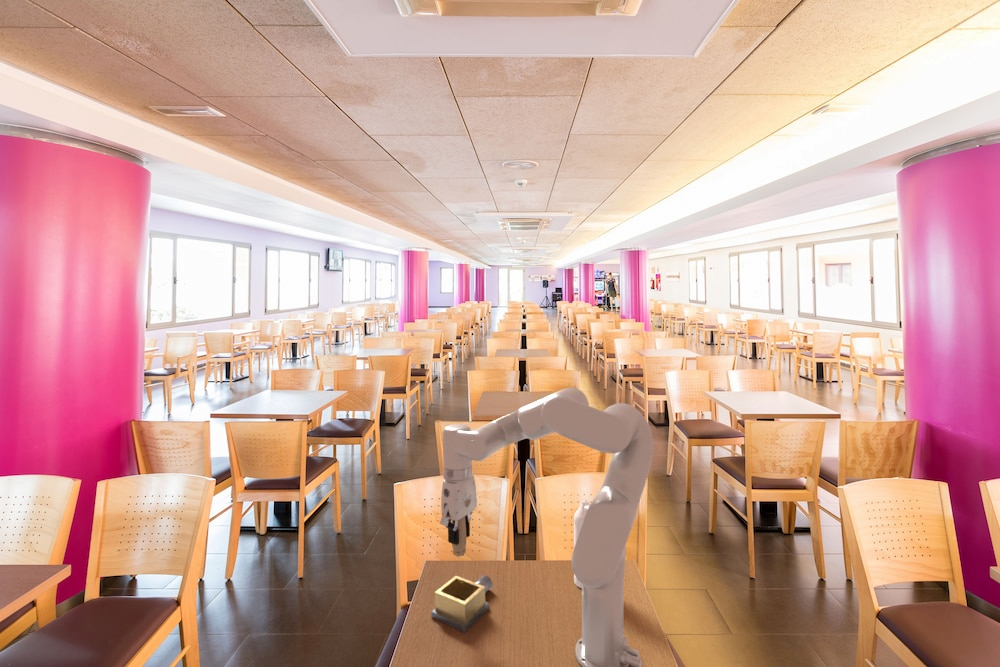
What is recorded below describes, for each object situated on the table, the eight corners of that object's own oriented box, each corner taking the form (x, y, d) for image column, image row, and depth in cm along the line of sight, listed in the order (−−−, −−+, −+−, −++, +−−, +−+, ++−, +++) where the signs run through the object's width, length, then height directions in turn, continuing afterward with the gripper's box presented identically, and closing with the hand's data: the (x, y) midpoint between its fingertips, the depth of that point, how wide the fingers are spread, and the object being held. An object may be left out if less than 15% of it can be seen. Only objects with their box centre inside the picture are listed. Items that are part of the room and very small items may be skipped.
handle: (469, 559, 123) (467, 503, 122) (445, 558, 124) (443, 502, 123) (473, 550, 128) (472, 496, 127) (449, 548, 129) (448, 495, 128)
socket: (502, 594, 135) (502, 572, 134) (464, 632, 120) (464, 607, 119) (471, 582, 141) (471, 561, 140) (431, 617, 126) (431, 593, 125)
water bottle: (572, 577, 143) (571, 496, 141) (593, 576, 143) (593, 495, 141) (578, 595, 134) (578, 509, 132) (600, 594, 134) (600, 508, 133)
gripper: (449, 485, 116) (450, 557, 117) (487, 465, 130) (488, 529, 131) (425, 479, 120) (427, 549, 121) (465, 460, 134) (466, 523, 135)
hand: (459, 538), depth 126 cm, fingers closed on handle, 4 cm apart
